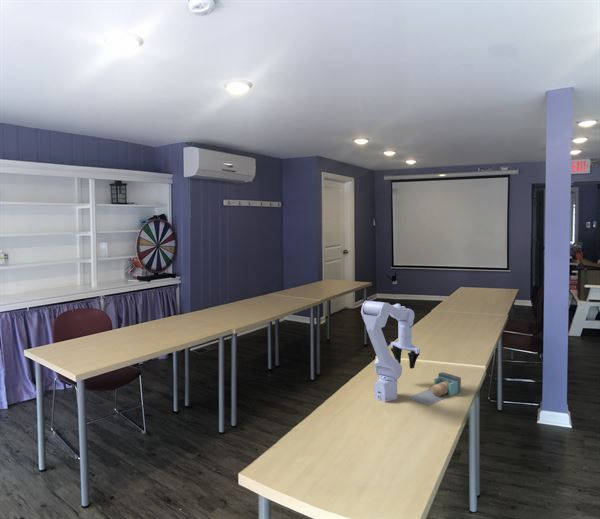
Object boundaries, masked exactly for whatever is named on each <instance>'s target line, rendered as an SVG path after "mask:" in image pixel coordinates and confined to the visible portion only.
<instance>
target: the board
mask: <svg viewBox="0 0 600 519" xmlns="http://www.w3.org/2000/svg"><path fill="white" fill-rule="evenodd" d="M431 389H432V388H429V389H427V390H425V391H422V392H420V393H416V394H414V395H412V396H409V397H408V399H410V400H413V401H414V402H417V403H420V404H423V405H425V406H430V405H433V404H435V403H437V402H439V401H441V400H445V399H446V398H449V397H450V396H449V395H448V393H446V394H444V395H441V396H439V397H436V396H434V395H433V393H432V390H431Z"/></svg>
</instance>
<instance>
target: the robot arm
mask: <svg viewBox="0 0 600 519" xmlns="http://www.w3.org/2000/svg"><path fill="white" fill-rule="evenodd" d="M360 309H361V310H360V313H361V316H362V320H363V322H364V324H365V328H366V331H367V334H368V337H369V339H370V343H371V345H372V348H373V349H374V352H375V355H376V359H375V361H374V369H375V370H374V371H375V373H376V375H377V377H378V379H377V380H376V381H375V382H374V384H373V385H374V386H373V388H374V389H373V390H374V391H373V392H374V393H373V397H374V399H376V400H378V401H380V402H382V403H387V402H389V401H390V402H391V401H393V400H394V401H395V400H396V399H398V379H400V378H401V377H402V374H403V373H402V372H403V367H402V365H401V363H402V362H401V360H402V359H401V358H402V352H403V350H405V351H408V353H407V356H408V362H409V363H408V365H409V369H414V368H415V365H416V362H417V360H418V358H419V356H420V353H421V348H419V347H416V346H415V345H413V339H412V338H413V334H412V333H413V325H414V319H415V312H414V310H412V309H411V308H406V306H403V305H402V306H401V304H400V303H395V304H390V302H383V301H374V300H371V301H370V300H365V301H364V302H363V303H362V305H361V308H360ZM389 317H391V318H393V319H396V321H398V322H397V323H398V324H397V325H398V327H397V328H398V329H397V330H398V335H397V336H398V339H397V340H398V341H390V347H391V348H390V349H389V347H388V343H387V341H386V339H385V338H386V337H385V335H384V333H383V330H382V328H385V326H386V324H387V321H388V318H389ZM390 351H391V352H392V354H393V355H391V352H390Z"/></svg>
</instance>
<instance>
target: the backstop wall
mask: <svg viewBox="0 0 600 519" xmlns="http://www.w3.org/2000/svg"><path fill="white" fill-rule="evenodd" d="M441 376H442V377H445V378H448V379H451V380H455V381H458V393H460V392H461V388H462V387H461V386H462V383H461V382H462V377H460V376H456V375H454V374H450V373H447V372H444V371H442V372H439V373H438V377H441ZM438 377H437V378H438Z"/></svg>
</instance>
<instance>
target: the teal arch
mask: <svg viewBox="0 0 600 519" xmlns="http://www.w3.org/2000/svg"><path fill="white" fill-rule="evenodd" d="M444 381H449V382H451V383H449V386H448V394H447V395H449V397H452V396H453V395H457V394H458V393H459V392H458V381H455V380H451V379H448V378H445V377H442V376H441V377H436V378H434V381H433V382H434V383H433V385H436V384H438V383H441V382H444Z"/></svg>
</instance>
